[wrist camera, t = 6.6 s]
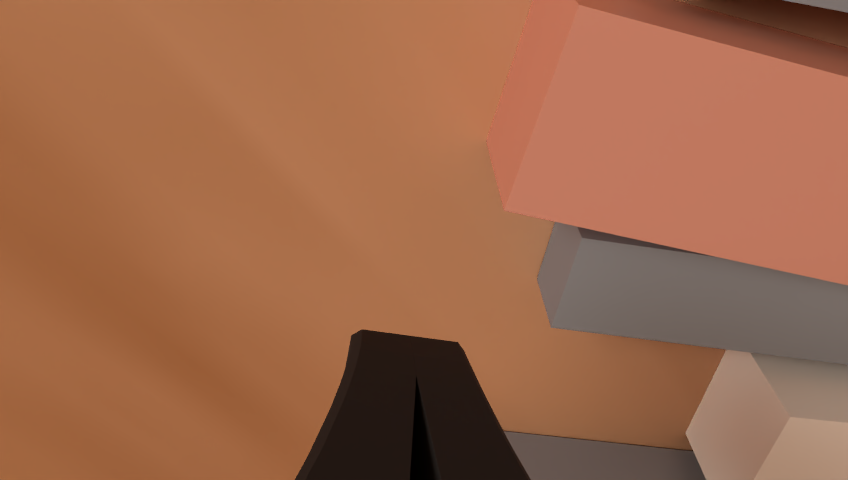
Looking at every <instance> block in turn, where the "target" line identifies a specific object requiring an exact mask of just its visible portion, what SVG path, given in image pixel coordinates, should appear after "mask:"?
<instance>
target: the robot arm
mask: <svg viewBox="0 0 848 480" xmlns="http://www.w3.org/2000/svg"><path fill="white" fill-rule="evenodd" d="M295 480H531V479H530V477H529V476H528V474H527V472H526V470H525V469H524V467H523V465H522V463H521V462H520V460H519V458H518V456H517V455H516V453H515V451H514V450H513V448H512V446H511V444H510V442H509V440H508V439H507V437H506V435H505V433H504V431H503V429H502V428H501V426H500V424H499V422H498V420H497V418H496V416H495V414H494V412H493V410H492V408H491V406H490V404H489V402H488V400H487V398H486V396H485V394H484V392H483V390H482V388H481V386H480V384H479V382H478V380H477V378H476V376H475V374H474V372H473V369H472V367H471V365H470V363H469V361H468V359H467V356H466V354H465V352H464V350H463V349H462V347H461V346H460V345H459V343H458V342H452V341H444V340H437V339H429V338H422V337H415V336H407V335H400V334H392V333H385V332H377V331H370V330H360V331H358V332H357V333H355V334H353V335H351V341H350V346H349V352H348V357H347V362H346V368H345V371H344V374H343V377H342V380H341V383H340V386H339V388H338V391H337V393H336V396H335V398H334V401H333V403H332V406H331V408H330V410H329V413H328V415H327V417H326V419H325V421H324V423H323V425H322V427H321V429H320V432H319V434H318V436H317V438H316V440H315V442H314V444H313V446H312V449H311V451H310V453H309V455H308V457H307V459H306V460H305V462H304V464H303V466H302V468H301V470H300V471H299V473H298V475H297V477H296V479H295Z"/></svg>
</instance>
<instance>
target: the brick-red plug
mask: <svg viewBox="0 0 848 480" xmlns="http://www.w3.org/2000/svg"><path fill="white" fill-rule="evenodd" d="M486 142H487V146H488V150H489V154H490V158H491V161H492V165H493V169H494V173H495V177H496V181H497V185H498V189H499V193H500V197H501V200H502V204H503V208H504V211H508V212H513V213H517V214H522V215H526V216H531V217H536V218H540V219H545V220H549V221H554V222H559V223H563V224H568V225H572V226H577V227H582V228H586V229H591V230H595V231H600V232H605V233H609V234H614V235H618V236H623V237H628V238H632V239H637V240H641V241H646V242H651V243H655V244H660V245H664V246H669V247H674V248H678V249H683V250H687V251H692V252H697V253H701V254H706V255H710V256H715V257H720V258H724V259H729V260H733V261H738V262H743V263H747V264H752V265H756V266H761V267H766V268H770V269H775V270H779V271H784V272H789V273H793V274H798V275H802V276H807V277H812V278H816V279H821V280H825V281H830V282H835V283H839V284H844V285H848V48H845V47H842V46H838V45H835V44H831V43H827V42H824V41H820V40H816V39H813V38H809V37H806V36H802V35H798V34H795V33H791V32H788V31H784V30H780V29H777V28H773V27H769V26H766V25H762V24H759V23H755V22H751V21H748V20H744V19H741V18H737V17H733V16H730V15H726V14H722V13H719V12H715V11H712V10H708V9H704V8H701V7H697V6H694V5H690V4H686V3H683V2H679V1H675V0H533V1H532V4H531V7H530V10H529V13H528V16H527V19H526V22H525V25H524V28H523V31H522V34H521V37H520V40H519V43H518V46H517V50H516V53H515V56H514V59H513V62H512V65H511V68H510V71H509V74H508V77H507V80H506V83H505V86H504V89H503V92H502V95H501V98H500V101H499V104H498V107H497V110H496V113H495V116H494V119H493V122H492V125H491V128H490V131H489V134H488V137H487V140H486Z"/></svg>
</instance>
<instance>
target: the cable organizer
mask: <svg viewBox="0 0 848 480" xmlns="http://www.w3.org/2000/svg"><path fill="white" fill-rule="evenodd" d="M784 1H789V2H795V3H800V4H805V5H811V6H816V7H821V8H826V9H832V10H837V11H842V12H847V13H848V0H784ZM537 280H538V284H539V287H540V291H541V294H542V298H543V301H544V305H545V308H546V312H547V315H548V319H549V322H550V325H551V328H559V329H567V330H575V331H583V332H591V333H599V334H607V335H615V336H623V337H631V338H639V339H646V340H654V341H662V342H670V343H678V344H686V345H694V346H702V347H710V348H718V349H726V350H734V351H742V352H750V353H758V354H766V355H774V356H782V357H790V358H798V359H806V360H814V361H822V362H830V363H838V364H846V365H848V285H844V284H839V283H835V282H830V281H825V280H821V279H816V278H812V277H807V276H802V275H798V274H793V273H789V272H784V271H779V270H775V269H770V268H766V267H761V266H756V265H752V264H747V263H743V262H738V261H733V260H729V259H724V258H720V257H715V256H710V255H706V254H701V253H697V252H692V251H687V250H683V249H678V248H674V247H669V246H664V245H660V244H655V243H651V242H646V241H641V240H637V239H632V238H628V237H623V236H618V235H614V234H609V233H605V232H600V231H595V230H591V229H586V228H582V227H577V226H572V225H568V224H563V223H559V222H555V224H554V227H553V230H552V234H551V237H550V240H549V243H548V246H547V249H546V252H545V256H544V259H543V262H542V265H541V268H540V271H539V274H538V278H537ZM504 433H505V435H506V437H507V439H508V440H509V442H510V444H511V446H512V448H513V450H514V451H515V453H516V455H517V456H518V458H519V460H520V462H521V463H522V465H523V467H524V469H525V470H526V472H527V474H528V476H529V477H530V479H531V480H706V478H705V476H704V474H703V472H702V469H701V467H700V465H699V463H698V460H697V458H696V456H695V454H694V451H685V450H676V449H666V448H657V447H647V446H638V445H629V444H619V443H610V442H601V441H591V440H582V439H572V438H563V437H554V436H544V435H535V434H525V433H516V432H507V431H504Z"/></svg>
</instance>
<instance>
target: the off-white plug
mask: <svg viewBox="0 0 848 480" xmlns="http://www.w3.org/2000/svg"><path fill="white" fill-rule="evenodd" d="M685 434H686V436H687V438H688V440H689V443H690V445H691V447H692V449H693V451H694V454H695V456H696V458H697V460H698V463H699V465H700V467H701V469H702V472H703V474H704V476H705V478H706V480H848V365H846V364H838V363H830V362H822V361H814V360H806V359H798V358H790V357H782V356H774V355H766V354H758V353H750V352H742V351H734V350H726V351H725V353H724V355H723V357H722V359H721V361H720V363H719V366H718V368H717V370H716V372H715V374H714V376H713V378H712V380H711V382H710V384H709V386H708V388H707V390H706V392H705V394H704V396H703V398H702V400H701V402H700V404H699V406H698V408H697V410H696V412H695V414H694V416H693V418H692V421H691V423H690V425H689V427H688V429H687V431H686V433H685Z"/></svg>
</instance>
